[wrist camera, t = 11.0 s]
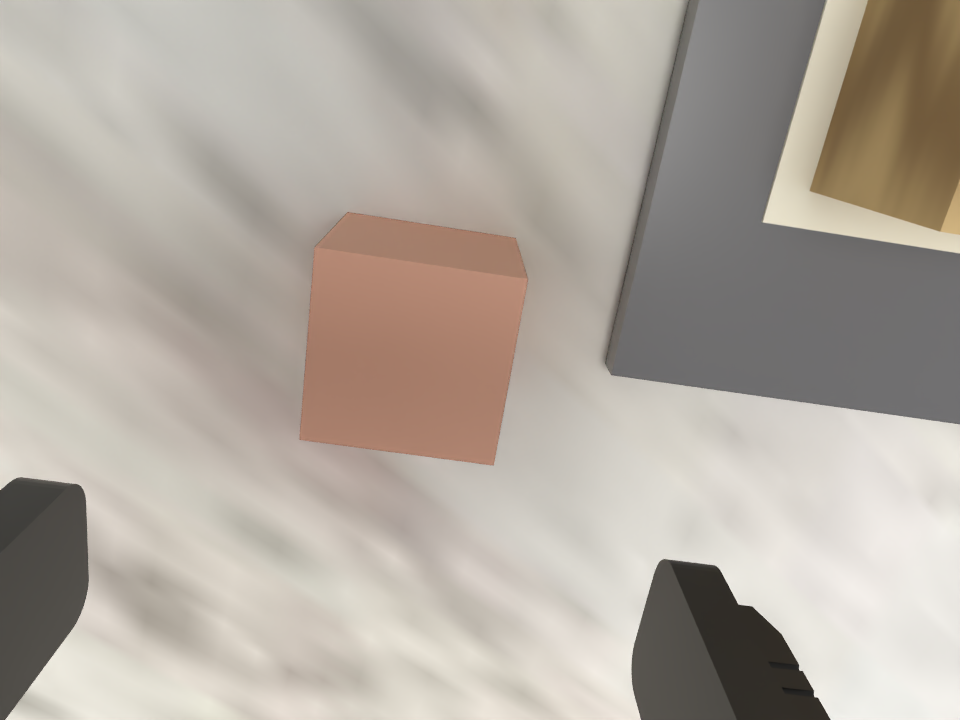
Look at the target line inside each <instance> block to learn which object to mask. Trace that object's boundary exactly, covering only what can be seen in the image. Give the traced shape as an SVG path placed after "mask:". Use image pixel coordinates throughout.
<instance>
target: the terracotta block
mask: <svg viewBox="0 0 960 720" xmlns="http://www.w3.org/2000/svg"><path fill="white" fill-rule="evenodd" d="M527 282H528V278H527V274H526V271H525V268H524V264H523V261H522V258H521V254H520V251H519V248H518V244H517V241H516V238H512V237H505V236H499V235H492V234H486V233H479V232H473V231H466V230H460V229H453V228H447V227H440V226H434V225H427V224H421V223H414V222H408V221H402V220H395V219H389V218H382V217H376V216H369V215H363V214H356V213H350V212H348V213H347V214H346V215H345V216H344V217H343V218H342V219H341V220H340V221H339V222H338V223H337V224H336V225H335V226H334V227H333V228H332V229H331V230H330V232H329V233H328V234H327V235H326V236H325V237H324V238H323V239H322V240H321V241H320V242H319V243H318V244H317V245H316V246H315V248H314V261H313V274H312V286H311V299H310V312H309V325H308V338H307V350H306V363H305V376H304V389H303V401H302V414H301V427H300V440H305V441H313V442H320V443H328V444H335V445H343V446H350V447H358V448H366V449H373V450H381V451H388V452H396V453H403V454H411V455H418V456H426V457H434V458H441V459H449V460H456V461H464V462H471V463H479V464H486V465H494V461H495V455H496V450H497V444H498V439H499V434H500V428H501V423H502V417H503V412H504V407H505V401H506V396H507V390H508V385H509V380H510V374H511V369H512V363H513V358H514V352H515V347H516V342H517V336H518V331H519V325H520V320H521V315H522V309H523V304H524V298H525V293H526V288H527Z"/></svg>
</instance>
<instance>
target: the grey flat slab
mask: <svg viewBox="0 0 960 720" xmlns="http://www.w3.org/2000/svg"><path fill="white" fill-rule="evenodd" d="M867 2H868V0H689V4H688V8H687V12H686V17H685V21H684V25H683V30H682V34H681V38H680V43H679V47H678V51H677V56H676V60H675V64H674V69H673V73H672V77H671V81H670V86H669V90H668V94H667V99H666V103H665V107H664V112H663V116H662V120H661V125H660V129H659V133H658V138H657V142H656V146H655V151H654V155H653V159H652V164H651V168H650V172H649V177H648V181H647V185H646V190H645V194H644V198H643V203H642V207H641V211H640V216H639V220H638V224H637V229H636V233H635V237H634V242H633V246H632V250H631V255H630V259H629V263H628V268H627V272H626V276H625V281H624V285H623V289H622V294H621V298H620V302H619V307H618V311H617V315H616V319H615V324H614V328H613V332H612V337H611V341H610V345H609V350H608V354H607V358H606V363H605V364H606V366H607V368H608V370H609V372H610V374H611V375H614V376H622V377H629V378H636V379H643V380H650V381H657V382H664V383H671V384H678V385H685V386H692V387H700V388H707V389H714V390H721V391H728V392H735V393H742V394H749V395H756V396H763V397H770V398H778V399H785V400H792V401H799V402H806V403H813V404H820V405H827V406H834V407H841V408H848V409H855V410H863V411H870V412H877V413H884V414H891V415H898V416H905V417H912V418H919V419H926V420H933V421H941V422H948V423H955V424H960V235H957V234H951V233H945V232H939V231H936V230H933V229H930V228H926V227H923V226H920V225H917V224H914V223H910V222H907V221H904V220H901V219H898V218H894V217H891V216H888V215H885V214H881V213H878V212H875V211H872V210H869V209H865V208H862V207H859V206H856V205H853V204H849V203H846V202H843V201H840V200H837V199H833V198H830V197H827V196H824V195H821V194H817V193H814V192H811V191H810V187H811V184H812V181H813V178H814V174H815V171H816V168H817V165H818V161H819V158H820V155H821V152H822V148H823V145H824V142H825V139H826V135H827V132H828V129H829V126H830V122H831V119H832V116H833V113H834V109H835V106H836V103H837V100H838V96H839V93H840V90H841V87H842V83H843V80H844V77H845V74H846V70H847V67H848V64H849V61H850V57H851V54H852V51H853V48H854V44H855V41H856V38H857V35H858V31H859V28H860V25H861V22H862V18H863V15H864V12H865V9H866V5H867Z"/></svg>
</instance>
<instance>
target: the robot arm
mask: <svg viewBox="0 0 960 720" xmlns="http://www.w3.org/2000/svg"><path fill="white" fill-rule="evenodd" d="M88 582H89V574H88V546H87V518H86V498H85V493H84V491H83V489H82V487H81V486H79V485H77V484H70V483H62V482H54V481H46V480H38V479H30V478H22V477H21V478H16V479H14V480H12V481H11V482H10V483H8V484H7V485H6V486H5V487H4V488H3V489H1V490H0V720H5V719H6V718H7V717H8V715H9V714H10V712H11V711H12V710H13V708H14V707H15V706H16V704H17V703H18V702H19V700H20V699H21V698H22V696H23V695H24V694H25V692H26V691H27V690H28V688H29V687H30V685H31V684H32V683H33V681H34V680H35V679H36V677H37V676H38V675H39V673H40V672H41V671H42V669H43V668H44V667H45V665H46V664H47V663H48V661H49V660H50V658H51V657H52V656H53V654H54V653H55V652H56V650H57V649H58V648H59V646H60V645H61V644H62V642H63V641H64V640H65V638H66V637H67V636H68V634H69V633H70V631H71V630H72V629H73V627H74V626H75V624H76V622H77V620H78V618H79V616H80V614H81V611H82V609H83V606H84V603H85V599H86V595H87V590H88ZM632 685H633V691H634V695H635V699H636V702H637V706H638V710H639V713H640V717H641V720H830V718H829V716H828V715H827V713H826V711H825V709H824V708H823V706H822V704H821V702H820V701H819V699H818V698H815V697H814V690H813V688H812V687H811V685H810V683H809V681H808V680H807V678H806V676H805V675H804V673H803V671H799V664H798V662H797V661H796V659H795V657H794V655H793V654H792V652H791V650H790V648H789V647H788V645H787V643H786V641H785V640H784V638H783V636H782V634H781V633H779V632H778V631H777V630H776V629H775V628H774V627H773V626H772V625H771V624H770V623H769V622H768V621H767V620H766V619H765V618H764V617H763V616H762V615H760V614H759V613H758V612H757V611H756V610H755V609H754V608H753V607H752V606H743V605H738V603H737V601H736V599H735V598H734V596H733V594H732V592H731V590H730V588H729V586H728V584H727V582H726V580H725V578H724V577H723V575H722V573H721V571H720V570H719V568H718V567H716V566H714V565H707V564H699V563H691V562H683V561H675V560H667V559H663V560H661V561H660V562H659V564H658V565H657V568H656V570H655V573H654V576H653V580H652V583H651V587H650V590H649V594H648V598H647V601H646V605H645V608H644V612H643V615H642V619H641V622H640V626H639V629H638V633H637V637H636V640H635V644H634V648H633V655H632Z"/></svg>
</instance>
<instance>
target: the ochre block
mask: <svg viewBox="0 0 960 720" xmlns="http://www.w3.org/2000/svg"><path fill="white" fill-rule="evenodd" d="M810 191H811V192H814V193H817V194H821V195H824V196H827V197H830V198H833V199H837V200H840V201H843V202H846V203H849V204H853V205H856V206H859V207H862V208H865V209H869V210H872V211H875V212H878V213H881V214H885V215H888V216H891V217H894V218H898V219H901V220H904V221H907V222H910V223H914V224H917V225H920V226H923V227H926V228H930V229H933V230H936V231H939V232H945V233H951V234H957V235H960V0H868V2H867V5H866V9H865V12H864V15H863V18H862V22H861V25H860V28H859V31H858V35H857V38H856V41H855V44H854V48H853V51H852V54H851V57H850V61H849V64H848V67H847V70H846V74H845V77H844V80H843V83H842V87H841V90H840V93H839V96H838V100H837V103H836V106H835V109H834V113H833V116H832V119H831V122H830V126H829V129H828V132H827V135H826V139H825V142H824V145H823V148H822V152H821V155H820V158H819V161H818V165H817V168H816V171H815V174H814V178H813V181H812V184H811V187H810Z"/></svg>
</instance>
